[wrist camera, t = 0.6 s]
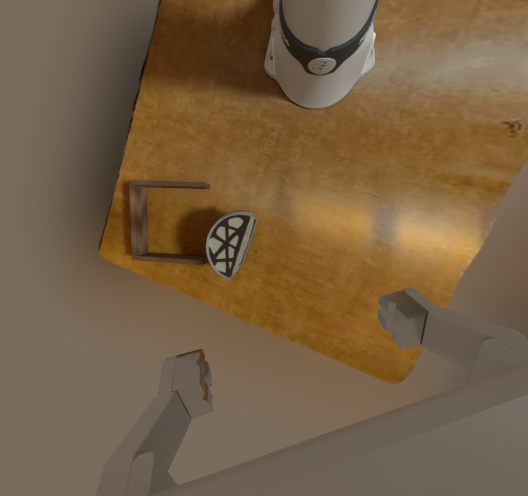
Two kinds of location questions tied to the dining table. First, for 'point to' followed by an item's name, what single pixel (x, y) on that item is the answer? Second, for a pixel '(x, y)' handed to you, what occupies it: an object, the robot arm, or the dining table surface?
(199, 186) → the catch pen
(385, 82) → the dining table surface
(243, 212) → the food container
